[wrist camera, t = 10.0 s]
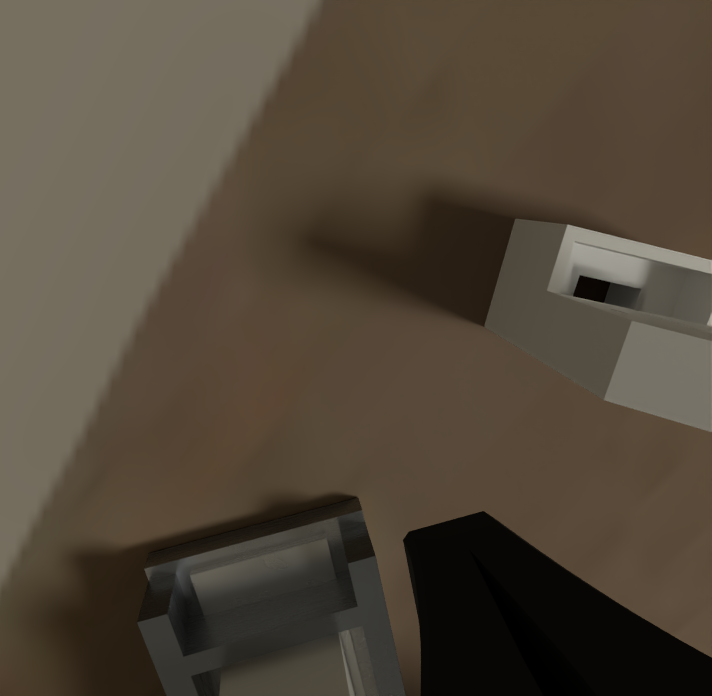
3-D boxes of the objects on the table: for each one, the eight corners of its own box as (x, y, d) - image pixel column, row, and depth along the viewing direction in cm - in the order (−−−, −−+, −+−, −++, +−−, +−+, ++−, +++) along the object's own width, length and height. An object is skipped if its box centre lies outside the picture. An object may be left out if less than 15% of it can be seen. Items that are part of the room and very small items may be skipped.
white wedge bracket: (786, 397, 18) (977, 511, 10) (491, 317, 21) (455, 355, 13) (832, 291, 17) (1083, 323, 9) (519, 223, 20) (498, 201, 12)
